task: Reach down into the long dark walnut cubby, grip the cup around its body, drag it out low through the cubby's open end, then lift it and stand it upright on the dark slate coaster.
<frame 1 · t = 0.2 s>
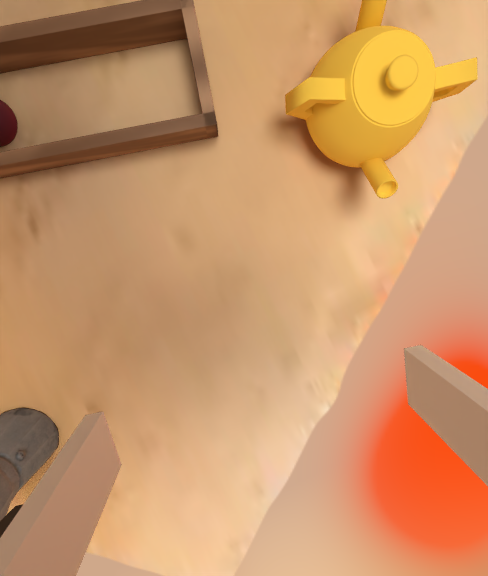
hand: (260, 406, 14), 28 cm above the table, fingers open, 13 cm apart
teapot: (351, 114, 37), on the table
cubby: (69, 108, 35), on the table
moka pot: (27, 436, 44), on the table
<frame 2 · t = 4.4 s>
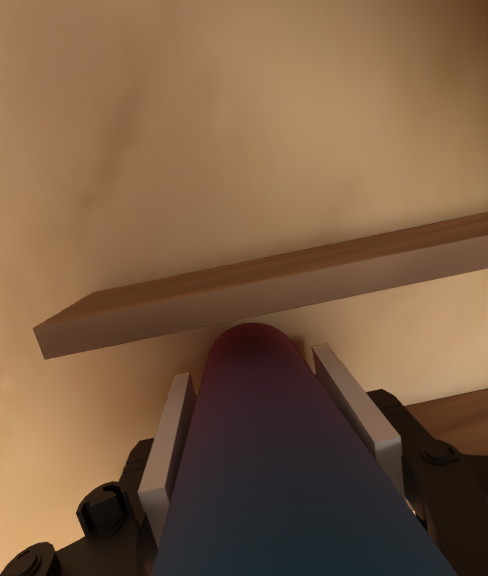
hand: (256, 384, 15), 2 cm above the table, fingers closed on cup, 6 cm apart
cup: (252, 364, 17), resting in cubby, touching gripper
cubby: (404, 334, 17), on the table
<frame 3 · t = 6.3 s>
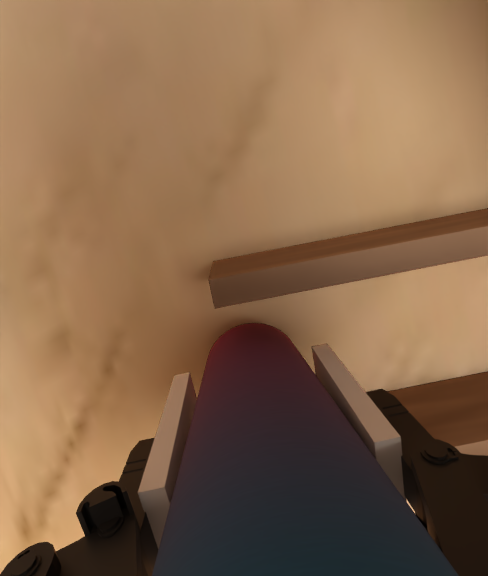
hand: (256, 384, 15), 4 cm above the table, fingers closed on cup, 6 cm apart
cup: (252, 364, 17), point 1 cm above the table, touching gripper
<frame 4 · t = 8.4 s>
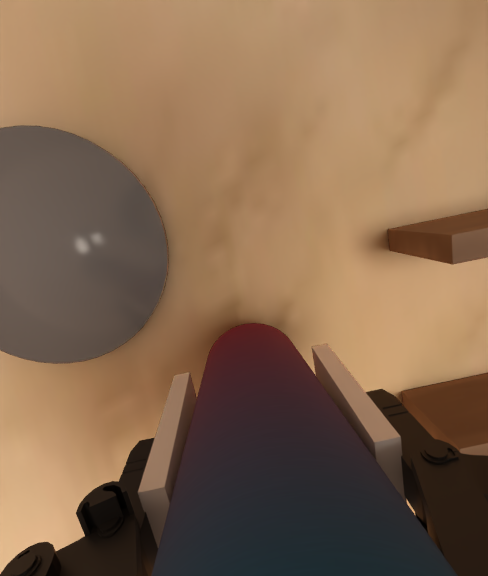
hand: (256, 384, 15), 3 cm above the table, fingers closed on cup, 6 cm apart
coaster: (52, 253, 17), on the table
cup: (252, 364, 17), point 1 cm above the table, touching gripper
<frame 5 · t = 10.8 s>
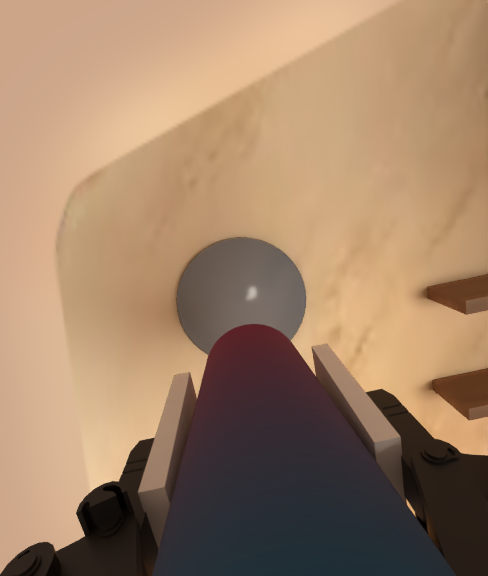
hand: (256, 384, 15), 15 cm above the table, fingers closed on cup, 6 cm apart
coaster: (241, 301, 30), on the table
cup: (252, 365, 17), point 13 cm above the table, touching gripper
when the fingers open (4 cm above the table, at t = 12.9 s): cup drops 1 cm, resting on coaster.
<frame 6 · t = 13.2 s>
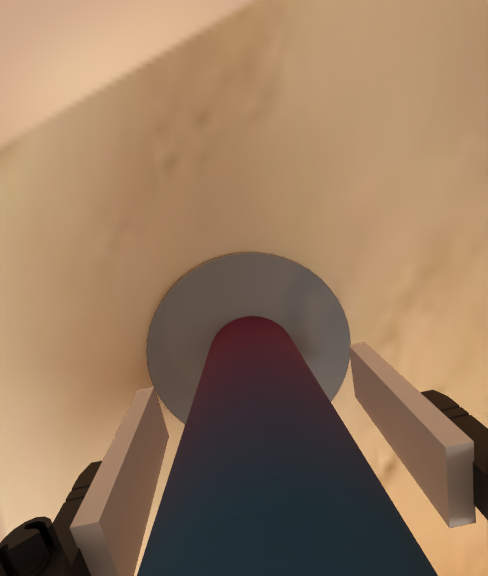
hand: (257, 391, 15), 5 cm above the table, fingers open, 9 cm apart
coaster: (249, 350, 19), on the table
cup: (251, 354, 19), resting on coaster
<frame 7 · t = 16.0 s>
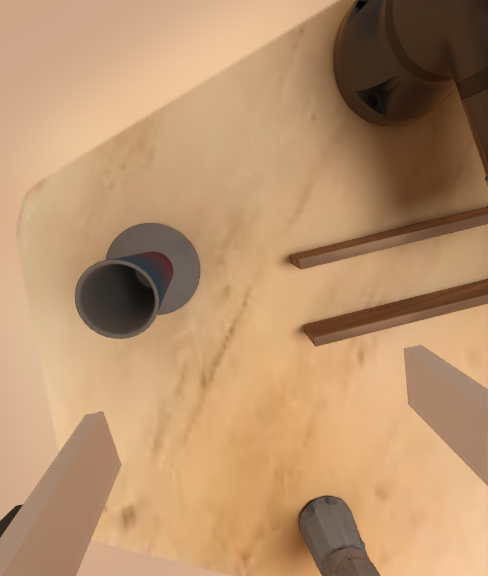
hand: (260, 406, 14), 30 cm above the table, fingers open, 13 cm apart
coaster: (154, 269, 41), on the table
cup: (154, 270, 41), resting on coaster
cubby: (405, 268, 44), on the table
moka pot: (323, 518, 53), on the table
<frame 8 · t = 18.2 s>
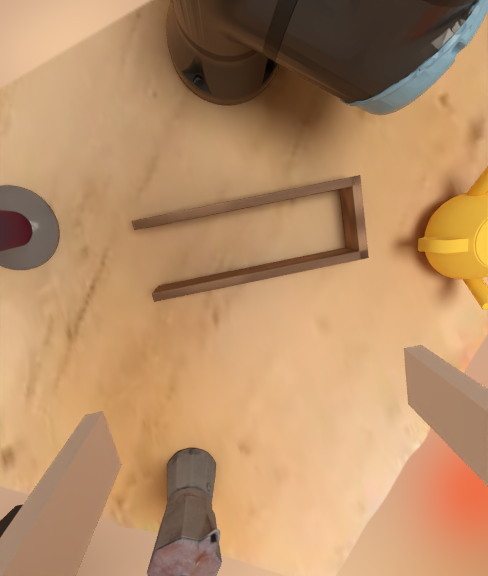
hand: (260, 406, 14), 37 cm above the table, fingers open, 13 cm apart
coaster: (16, 228, 46), on the table
teapot: (450, 235, 50), on the table
cup: (15, 229, 46), resting on coaster
cubby: (251, 237, 48), on the table
moka pot: (191, 469, 57), on the table
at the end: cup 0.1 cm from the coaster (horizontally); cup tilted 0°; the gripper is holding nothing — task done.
